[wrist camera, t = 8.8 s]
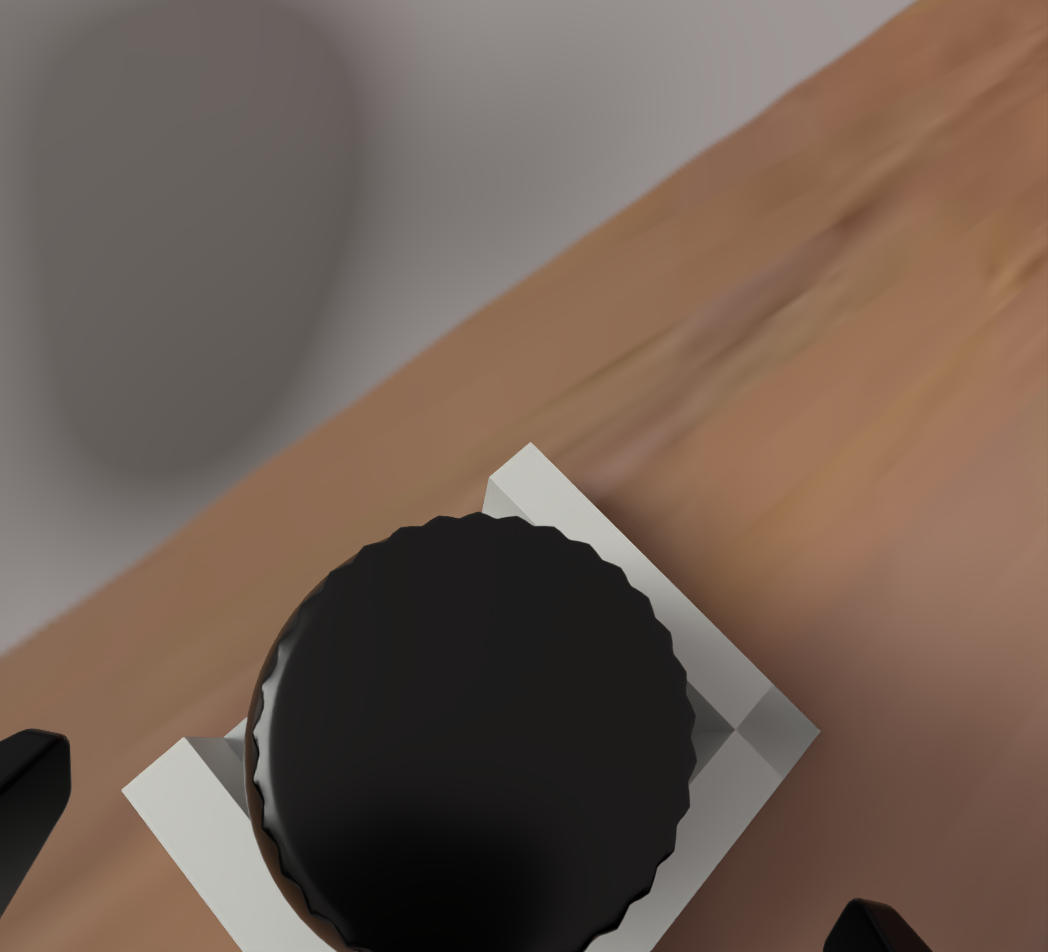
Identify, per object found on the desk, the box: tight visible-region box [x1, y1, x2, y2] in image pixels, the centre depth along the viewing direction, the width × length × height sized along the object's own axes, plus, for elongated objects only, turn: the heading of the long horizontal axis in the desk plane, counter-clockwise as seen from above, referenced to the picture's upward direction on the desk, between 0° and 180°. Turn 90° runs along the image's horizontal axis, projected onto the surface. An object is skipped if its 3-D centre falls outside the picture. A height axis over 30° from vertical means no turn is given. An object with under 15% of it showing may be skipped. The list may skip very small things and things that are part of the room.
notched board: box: [121, 442, 821, 952], centre depth 17 cm, size 10×12×4 cm
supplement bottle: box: [243, 512, 697, 952], centre depth 13 cm, size 7×7×12 cm
